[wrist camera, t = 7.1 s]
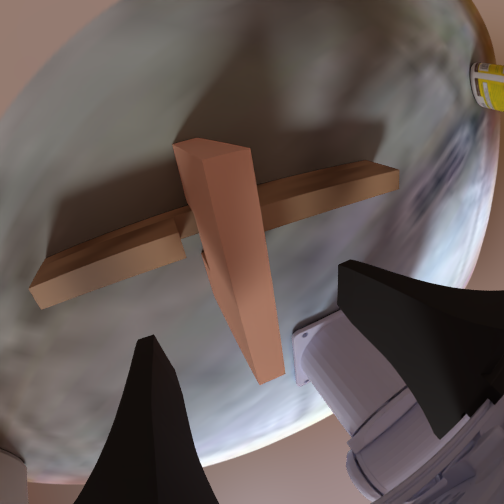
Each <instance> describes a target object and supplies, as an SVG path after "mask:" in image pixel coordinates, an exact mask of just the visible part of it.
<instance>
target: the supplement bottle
mask: <svg viewBox="0 0 504 504" xmlns="http://www.w3.org/2000/svg"><path fill="white" fill-rule="evenodd" d="M470 79H471V86H472V91H473V94H474V97H475V99H476V101H477V103H478V104H479V105H480V106H482V107H485V108H490V109H494V110H498V111H503V112H504V66H502V65H495V64H488V63H478V62H477V63H474V64H473V65H472V67H471V72H470Z"/></svg>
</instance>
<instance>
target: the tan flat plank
mask: <svg viewBox="0 0 504 504" xmlns="http://www.w3.org/2000/svg"><path fill="white" fill-rule="evenodd" d="M172 145H173V149H174V154H175V158H176V162H177V166H178V170H179V174H180V178H181V182H182V186H183V190H184V193H185V197H186V201H187V203H188V205H189V206H190V208H191V210H192V211H193V213H194V216H195V220H196V223H197V227H198V231H199V234H200V238H201V241H202V245H203V249H204V252H202V253H201V254H202V258H203V261H204V264H205V268H206V271H207V274H208V278H209V281H210V284H211V287H212V290H213V294H214V296H215V298H216V300H217V303H218V305H219V307H220V309H221V311H222V313H223V315H224V317H225V319H226V321H227V323H228V325H229V327H230V329H231V331H232V333H233V335H234V337H235V339H236V341H237V343H238V345H239V347H240V349H241V351H242V353H243V355H244V357H245V359H246V360H247V362H248V364H249V366H250V368H251V370H252V372H253V374H254V376H255V377H256V379H257V381H258V383H259V385H261V384H263V383H266V382H268V381H270V380H273V379H275V378H277V377H279V376H282V375H284V374H285V367H284V360H283V353H282V346H281V339H280V332H279V325H278V318H277V312H276V305H275V298H274V292H273V285H272V278H271V272H270V265H269V259H268V253H267V246H266V240H265V234H264V227H263V221H262V215H261V209H260V203H259V197H258V191H257V185H256V179H255V173H254V167H253V161H252V156H251V150H250V148H247V147H242V146H238V145H233V144H228V143H223V142H218V141H213V140H207V139H202V138H193V139H189V140H186V141H182V142H178V143H175V144H172Z"/></svg>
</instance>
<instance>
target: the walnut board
mask: <svg viewBox="0 0 504 504" xmlns="http://www.w3.org/2000/svg"><path fill="white" fill-rule="evenodd" d="M397 189H399V170H398V169H395V168H392V167H388V166H385V165H381V164H378V163H374V162H371V161H367V160H363V161H358V162H353V163H348V164H344V165H339V166H334V167H329V168H325V169H320V170H316V171H312V172H307V173H303V174H299V175H295V176H291V177H287V178H283V179H279V180H275V181H271V182H267V183H263V184H259V185H257V191H258V197H259V203H260V209H261V215H262V221H263V227H264V232H265V231H268V230H271V229H274V228H277V227H280V226H283V225H286V224H289V223H292V222H295V221H298V220H302V219H305V218H308V217H311V216H314V215H317V214H320V213H323V212H327V211H330V210H333V209H336V208H339V207H342V206H346V205H349V204H352V203H355V202H358V201H362V200H365V199H368V198H371V197H375V196H378V195H381V194H384V193H388V192H391V191H394V190H397ZM198 233H199V231H198V227H197V223H196V220H195V216H194V213H193V211H192V210H191V208H190V206H189V205H187V206H184V207H181V208H178V209H175V210H172V211H169V212H166V213H163V214H160V215H157V216H154V217H151V218H148V219H145V220H142V221H139V222H137V223H134V224H131V225H128V226H125V227H123V228H120V229H117V230H115V231H112V232H109V233H107V234H104V235H101V236H99V237H96V238H94V239H91V240H89V241H86V242H84V243H81V244H79V245H76V246H74V247H71V248H69V249H66V250H64V251H62V252H59V253H57V254H55V255H52V256H50V257H48V258H45V260H44V262H43V263H42V265H41V267H40V269H39V270H38V272H37V274H36V276H35V278H34V279H33V281H32V283H31V285H30V287H29V290H30V292H31V294H32V295H33V297H34V299H35V300H36V302H37V304H38V305H39V307H40V308H41V310H42V309H44V308H47V307H50V306H53V305H55V304H58V303H61V302H63V301H66V300H69V299H71V298H74V297H77V296H80V295H82V294H85V293H88V292H91V291H93V290H96V289H99V288H102V287H105V286H107V285H110V284H113V283H116V282H119V281H121V280H124V279H127V278H130V277H133V276H135V275H138V274H141V273H144V272H147V271H150V270H153V269H155V268H158V267H161V266H164V265H167V264H170V263H173V262H176V261H179V260H181V259H184V258H186V255H185V252H184V249H183V246H182V242H181V239H183V238H186V237H189V236H192V235H195V234H198Z"/></svg>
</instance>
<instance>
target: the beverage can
mask: <svg viewBox="0 0 504 504" xmlns="http://www.w3.org/2000/svg"><path fill="white" fill-rule="evenodd" d="M0 504H29V502H28V490H27V467H26V466H25V465H24V464H23V462H22V460H21V459H19V458H18V457H16V456H15V455H13V454H11V453H9V452H7V451H4V450H2V449H0Z"/></svg>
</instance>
